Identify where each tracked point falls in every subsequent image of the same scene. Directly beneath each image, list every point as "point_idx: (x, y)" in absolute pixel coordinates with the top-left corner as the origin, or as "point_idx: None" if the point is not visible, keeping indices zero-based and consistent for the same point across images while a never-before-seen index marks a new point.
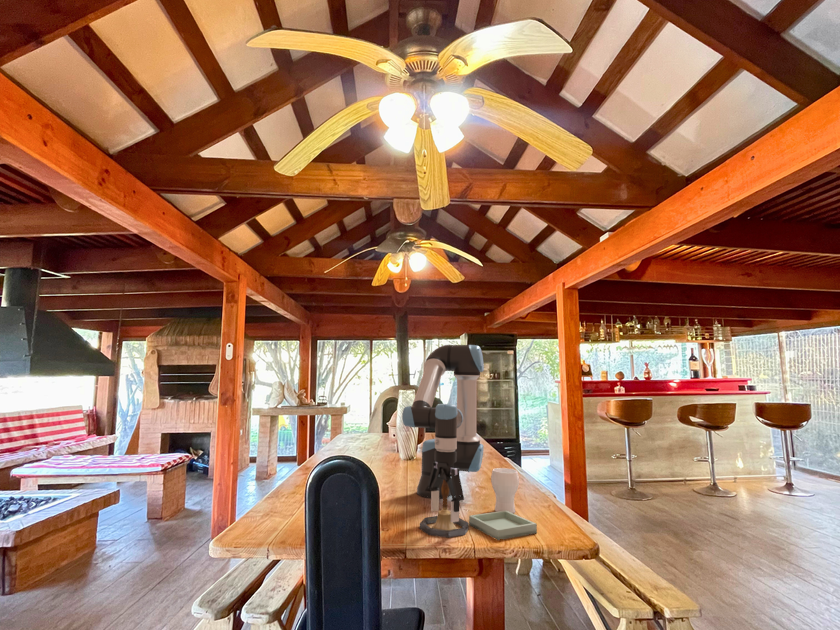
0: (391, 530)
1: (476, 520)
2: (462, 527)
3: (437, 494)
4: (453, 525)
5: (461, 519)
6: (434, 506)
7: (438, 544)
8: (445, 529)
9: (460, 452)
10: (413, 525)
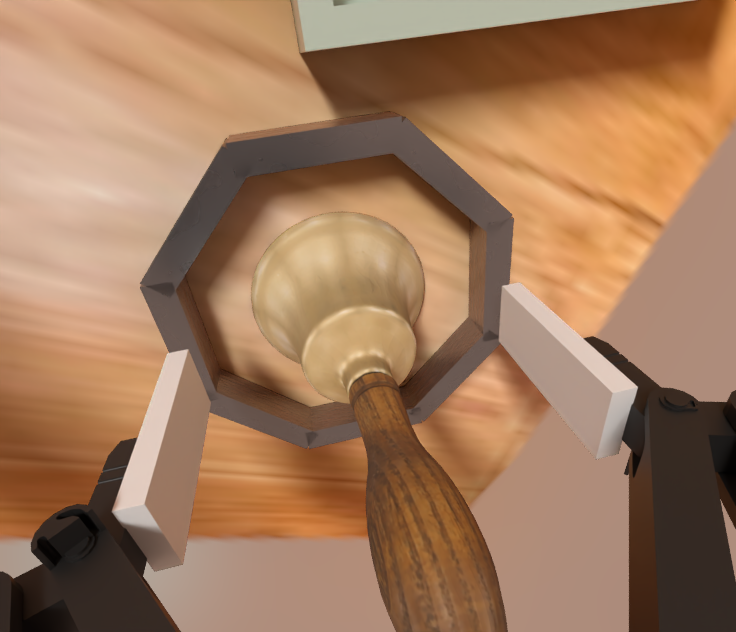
0: (296, 528)
1: (441, 32)
2: (480, 222)
3: (164, 482)
4: (390, 258)
5: (291, 141)
6: (196, 411)
7: None
8: (413, 319)
9: None
10: (236, 443)
